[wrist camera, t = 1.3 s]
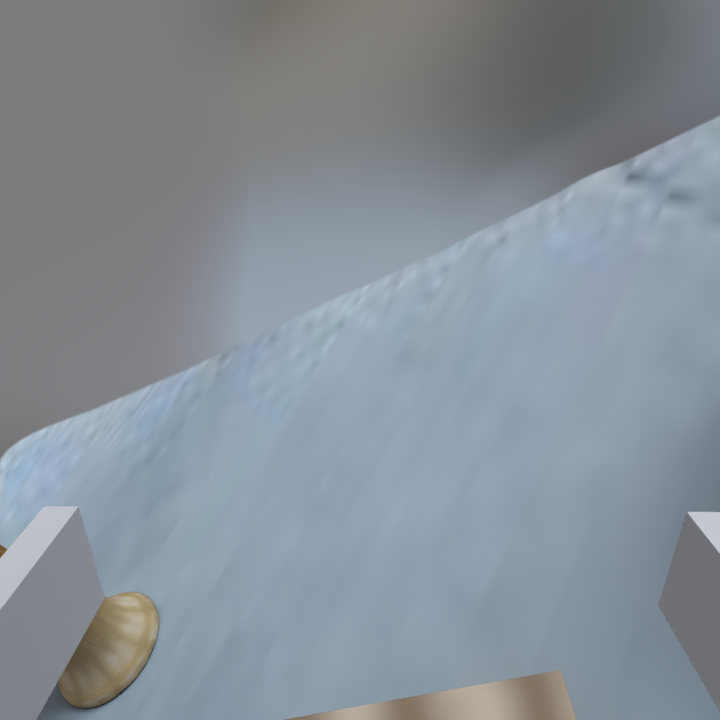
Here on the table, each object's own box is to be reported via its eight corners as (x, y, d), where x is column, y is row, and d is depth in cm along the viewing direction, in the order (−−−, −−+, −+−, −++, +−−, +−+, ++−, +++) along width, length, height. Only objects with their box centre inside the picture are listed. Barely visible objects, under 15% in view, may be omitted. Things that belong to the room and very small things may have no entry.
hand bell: (40, 677, 41) (-145, 582, 31) (117, 579, 46) (-22, 469, 36) (101, 731, 37) (-92, 640, 27) (180, 616, 41) (41, 502, 32)
